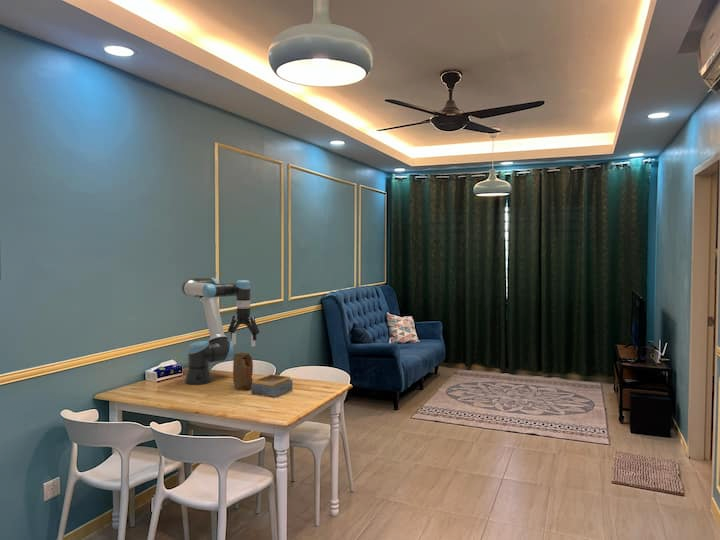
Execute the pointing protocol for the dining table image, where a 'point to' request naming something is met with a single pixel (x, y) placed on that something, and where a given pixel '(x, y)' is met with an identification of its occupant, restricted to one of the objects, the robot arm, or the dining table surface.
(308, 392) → the dining table surface
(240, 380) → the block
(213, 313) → the robot arm
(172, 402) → the dining table surface
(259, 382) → the grey square tray
